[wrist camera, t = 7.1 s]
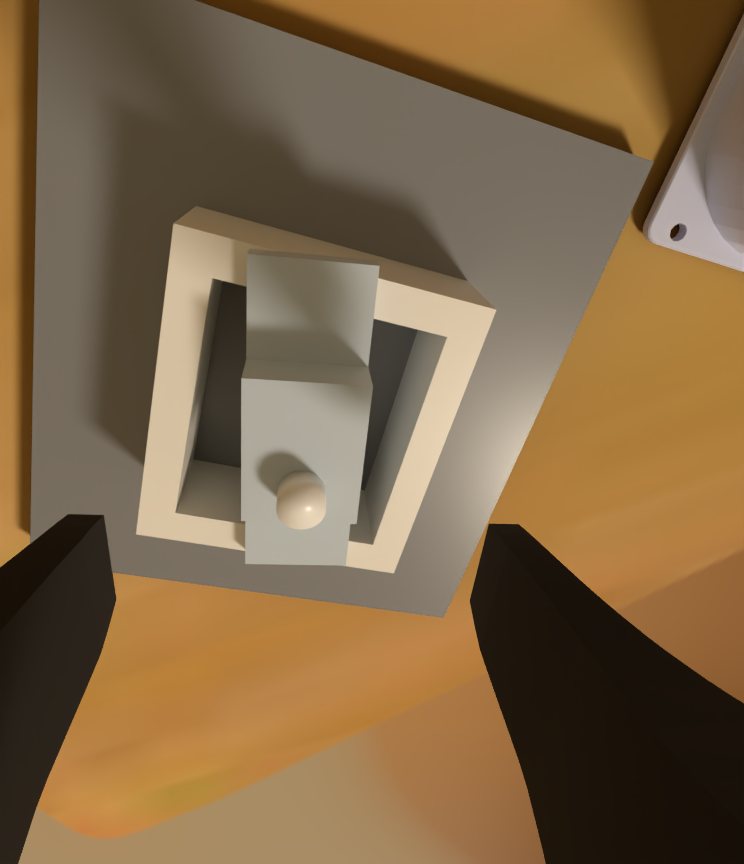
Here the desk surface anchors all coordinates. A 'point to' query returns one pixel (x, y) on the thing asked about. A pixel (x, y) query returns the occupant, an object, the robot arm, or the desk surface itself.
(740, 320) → the desk surface
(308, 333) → the block
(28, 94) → the desk surface
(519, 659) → the robot arm
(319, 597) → the pocket plate
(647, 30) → the desk surface
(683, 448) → the desk surface
